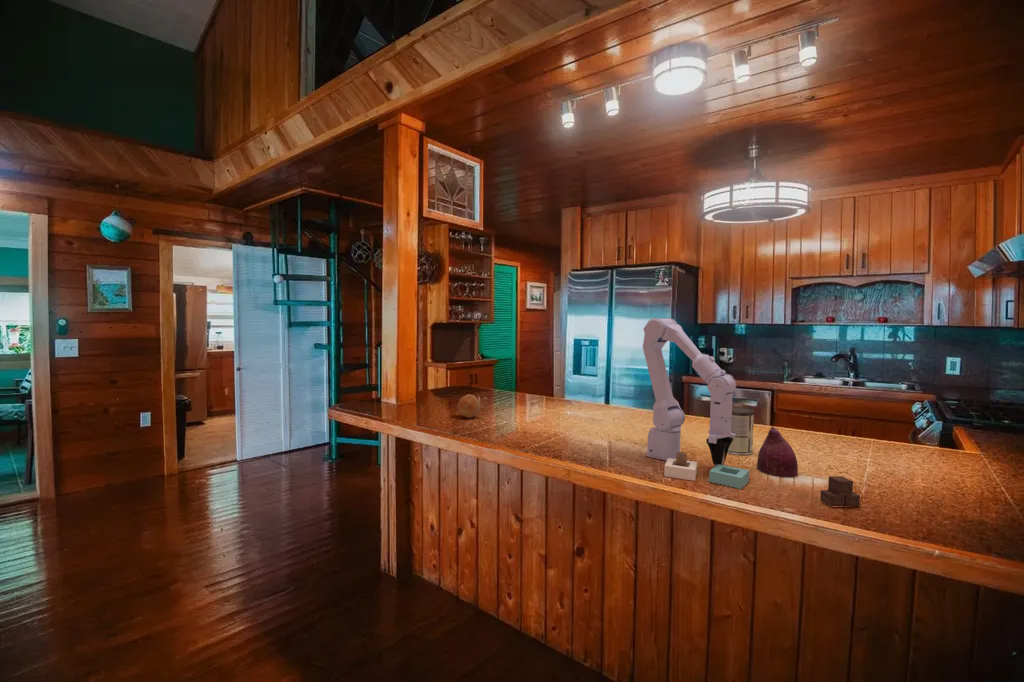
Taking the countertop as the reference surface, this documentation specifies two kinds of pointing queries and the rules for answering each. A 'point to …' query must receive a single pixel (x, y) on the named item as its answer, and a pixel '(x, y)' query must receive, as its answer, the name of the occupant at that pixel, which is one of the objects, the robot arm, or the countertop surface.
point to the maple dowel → (722, 460)
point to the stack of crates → (840, 492)
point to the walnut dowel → (681, 459)
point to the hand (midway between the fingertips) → (718, 462)
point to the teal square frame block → (729, 476)
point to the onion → (469, 406)
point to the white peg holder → (680, 470)
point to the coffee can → (742, 431)
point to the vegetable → (777, 456)
